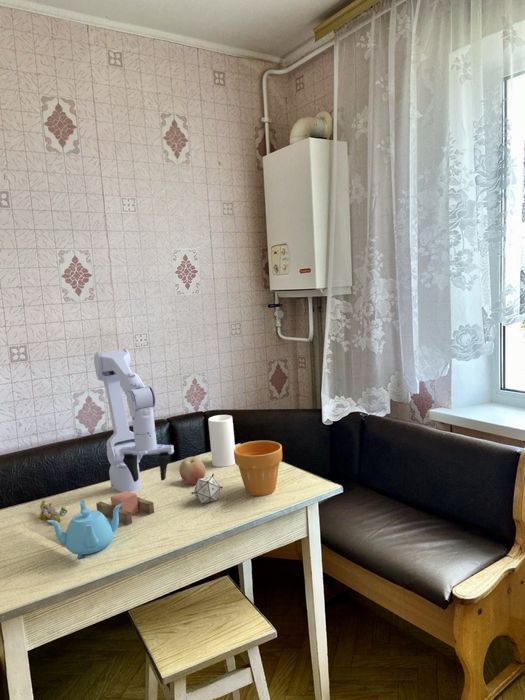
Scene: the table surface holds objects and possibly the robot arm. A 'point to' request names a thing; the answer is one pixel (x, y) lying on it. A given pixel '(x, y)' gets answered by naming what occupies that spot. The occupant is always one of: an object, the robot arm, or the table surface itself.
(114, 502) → the block
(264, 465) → the flower pot
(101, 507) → the chute
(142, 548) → the table surface
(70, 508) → the table surface
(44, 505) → the toy
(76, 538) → the teapot
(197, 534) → the table surface
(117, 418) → the robot arm
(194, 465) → the fruit
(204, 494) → the game die
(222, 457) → the white tall cylinder
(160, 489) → the table surface
